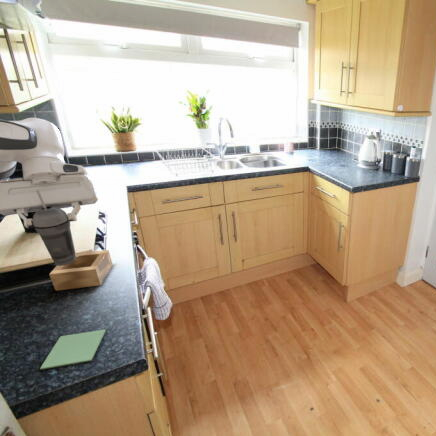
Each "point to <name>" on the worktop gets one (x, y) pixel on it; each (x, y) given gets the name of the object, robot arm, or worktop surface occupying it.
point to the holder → (82, 271)
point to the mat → (74, 349)
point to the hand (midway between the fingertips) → (51, 223)
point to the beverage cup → (55, 233)
